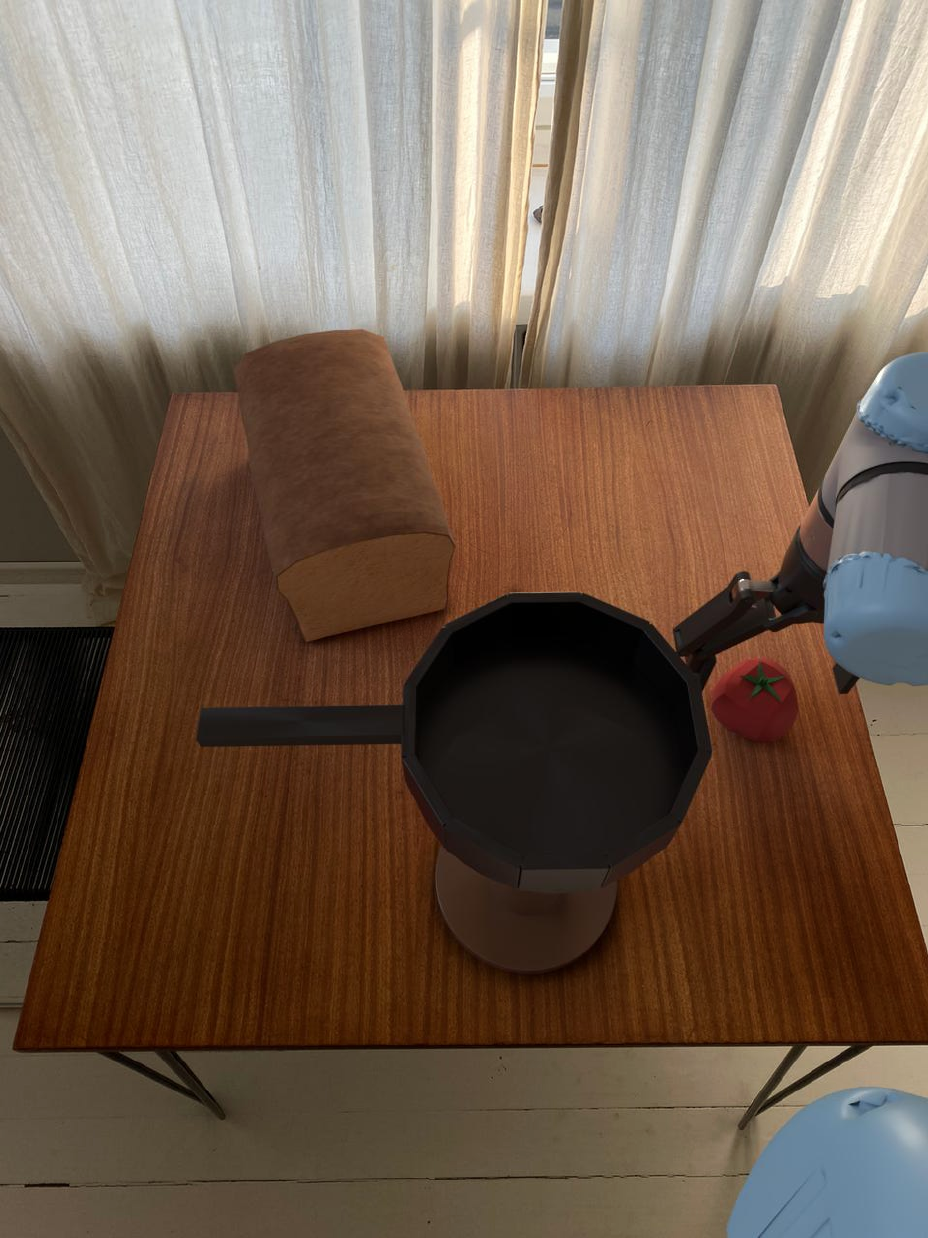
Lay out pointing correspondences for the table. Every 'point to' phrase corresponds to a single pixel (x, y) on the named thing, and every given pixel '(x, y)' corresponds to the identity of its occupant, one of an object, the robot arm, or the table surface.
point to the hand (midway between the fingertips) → (766, 682)
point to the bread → (342, 483)
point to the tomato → (756, 700)
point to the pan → (527, 764)
